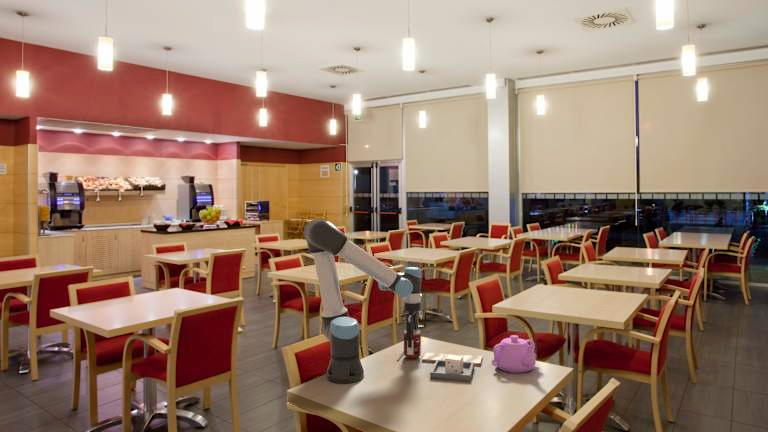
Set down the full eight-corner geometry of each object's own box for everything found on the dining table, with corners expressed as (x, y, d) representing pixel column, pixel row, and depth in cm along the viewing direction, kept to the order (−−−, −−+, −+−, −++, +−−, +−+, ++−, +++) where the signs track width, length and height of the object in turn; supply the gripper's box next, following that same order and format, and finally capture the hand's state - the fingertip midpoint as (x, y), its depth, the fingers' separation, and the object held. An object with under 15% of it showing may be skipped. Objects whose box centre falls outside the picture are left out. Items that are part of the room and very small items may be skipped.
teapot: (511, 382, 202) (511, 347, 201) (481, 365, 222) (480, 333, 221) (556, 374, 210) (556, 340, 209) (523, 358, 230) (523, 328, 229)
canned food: (402, 357, 230) (402, 333, 230) (404, 352, 238) (405, 328, 238) (419, 358, 229) (419, 334, 228) (421, 353, 237) (421, 329, 236)
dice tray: (430, 378, 207) (430, 372, 207) (436, 365, 223) (436, 359, 223) (470, 381, 203) (470, 375, 203) (474, 368, 219) (473, 362, 219)
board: (396, 361, 229) (396, 358, 229) (402, 352, 241) (402, 349, 241) (480, 367, 220) (480, 364, 220) (482, 357, 232) (482, 355, 232)
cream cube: (445, 358, 211) (460, 360, 208) (449, 354, 216) (463, 356, 214) (445, 373, 211) (459, 375, 208) (449, 368, 216) (463, 370, 214)
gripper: (415, 307, 221) (415, 359, 222) (424, 297, 241) (424, 345, 242) (399, 306, 223) (398, 357, 224) (409, 296, 243) (409, 344, 244)
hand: (412, 351), depth 233 cm, fingers closed on canned food, 8 cm apart
